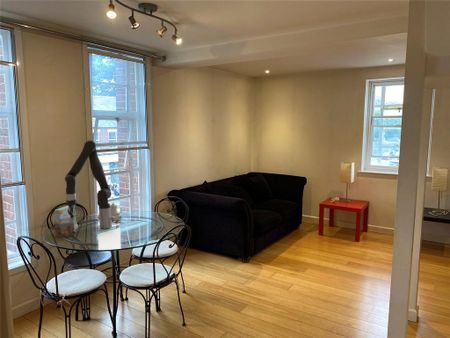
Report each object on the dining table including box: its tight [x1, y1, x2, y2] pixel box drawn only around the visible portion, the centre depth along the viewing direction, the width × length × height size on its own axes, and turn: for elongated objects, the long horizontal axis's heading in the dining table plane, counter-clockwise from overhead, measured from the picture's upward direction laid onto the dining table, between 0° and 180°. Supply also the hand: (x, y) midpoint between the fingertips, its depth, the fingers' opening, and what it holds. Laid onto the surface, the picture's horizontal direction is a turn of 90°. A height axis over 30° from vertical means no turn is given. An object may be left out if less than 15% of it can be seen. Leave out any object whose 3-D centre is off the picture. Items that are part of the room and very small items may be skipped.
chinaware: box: [95, 202, 124, 224], centre depth 305 cm, size 28×17×17 cm, turn 77°
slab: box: [60, 216, 78, 231], centre depth 265 cm, size 10×16×6 cm, turn 18°
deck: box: [54, 225, 74, 238], centre depth 269 cm, size 12×28×9 cm, turn 6°
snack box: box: [54, 205, 77, 227], centre depth 294 cm, size 21×6×15 cm, turn 168°
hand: (72, 219), depth 275 cm, fingers closed
